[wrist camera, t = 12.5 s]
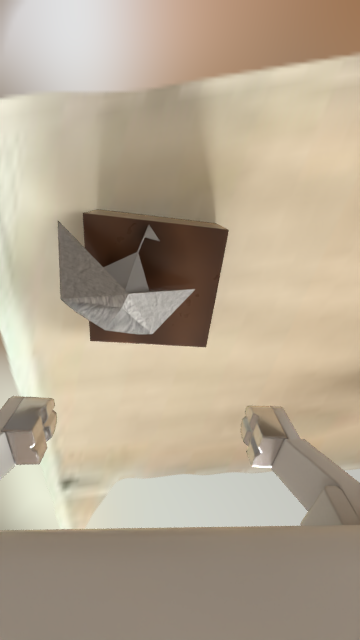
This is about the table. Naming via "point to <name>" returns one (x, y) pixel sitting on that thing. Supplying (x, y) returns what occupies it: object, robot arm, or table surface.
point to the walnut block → (162, 269)
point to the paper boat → (113, 289)
